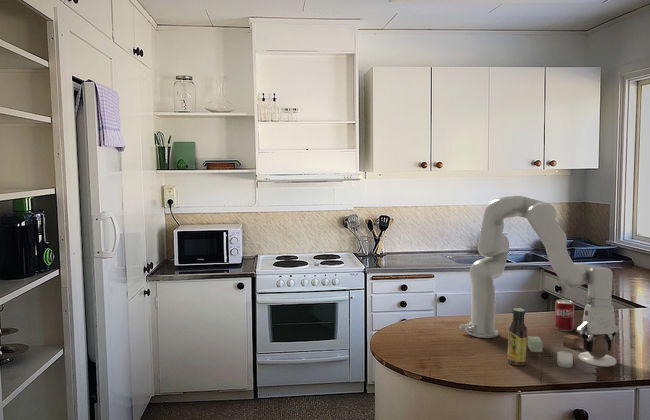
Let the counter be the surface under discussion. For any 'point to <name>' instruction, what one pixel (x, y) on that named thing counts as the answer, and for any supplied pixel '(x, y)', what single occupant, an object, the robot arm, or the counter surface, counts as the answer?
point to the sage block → (535, 344)
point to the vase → (598, 346)
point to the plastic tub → (565, 359)
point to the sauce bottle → (517, 338)
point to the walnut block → (571, 341)
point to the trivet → (597, 360)
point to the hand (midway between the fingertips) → (597, 349)
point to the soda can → (564, 315)
